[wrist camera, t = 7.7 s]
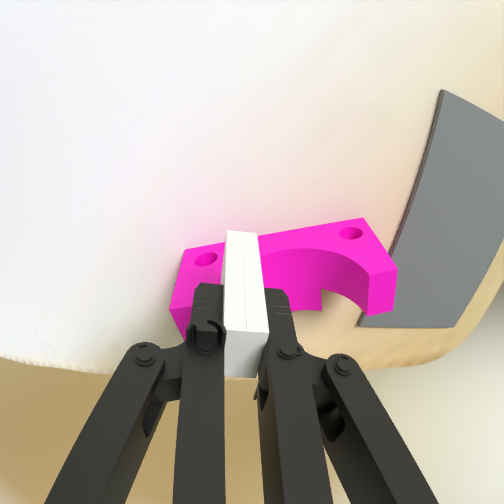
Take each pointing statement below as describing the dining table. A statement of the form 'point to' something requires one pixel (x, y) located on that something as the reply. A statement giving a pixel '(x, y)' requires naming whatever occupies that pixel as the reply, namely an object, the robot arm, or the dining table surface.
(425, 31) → the dining table surface
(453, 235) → the pad
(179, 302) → the magenta bearing cap
